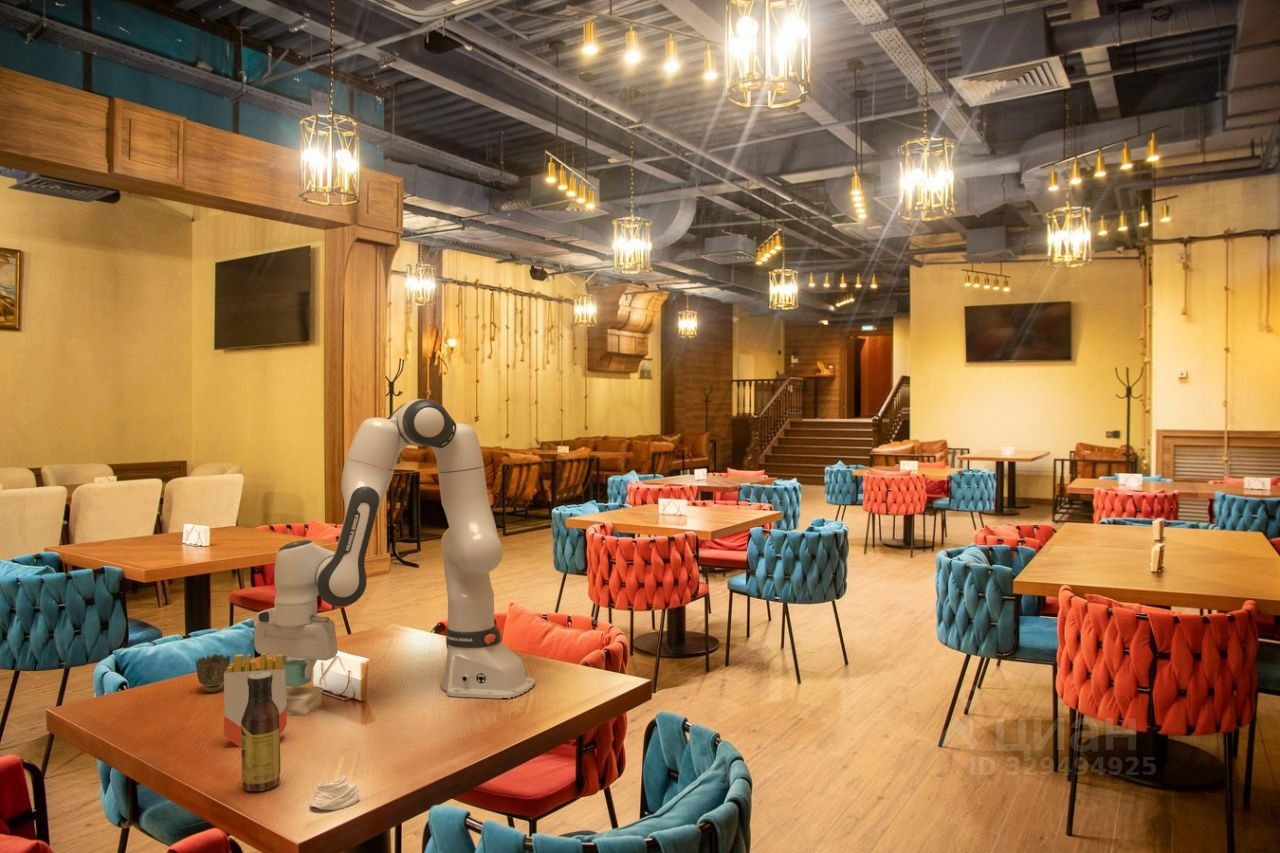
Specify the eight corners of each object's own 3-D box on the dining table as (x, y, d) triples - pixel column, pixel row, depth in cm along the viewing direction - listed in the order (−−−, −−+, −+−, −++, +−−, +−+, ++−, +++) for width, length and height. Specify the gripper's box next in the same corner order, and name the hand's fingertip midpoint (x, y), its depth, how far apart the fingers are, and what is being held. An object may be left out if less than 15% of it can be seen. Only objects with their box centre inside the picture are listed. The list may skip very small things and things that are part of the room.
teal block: (311, 681, 192) (311, 661, 192) (296, 687, 188) (296, 667, 188) (294, 679, 193) (294, 659, 193) (280, 685, 189) (280, 665, 189)
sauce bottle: (249, 779, 153) (249, 668, 153) (285, 778, 154) (285, 667, 154) (235, 795, 147) (235, 679, 146) (273, 793, 147) (272, 678, 147)
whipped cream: (321, 823, 139) (320, 795, 138) (300, 807, 143) (299, 779, 142) (365, 803, 145) (364, 776, 144) (344, 788, 149) (344, 762, 148)
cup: (188, 694, 202) (188, 660, 202) (214, 685, 209) (214, 652, 209) (211, 697, 199) (211, 663, 199) (237, 688, 206) (237, 655, 206)
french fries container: (229, 740, 172) (229, 650, 172) (287, 735, 175) (286, 647, 175) (224, 748, 168) (223, 656, 168) (283, 743, 170) (283, 653, 170)
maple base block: (321, 704, 195) (321, 687, 195) (306, 716, 187) (306, 698, 187) (286, 704, 195) (286, 687, 195) (270, 716, 187) (270, 698, 187)
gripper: (343, 614, 190) (343, 676, 190) (270, 608, 197) (270, 668, 197) (324, 620, 184) (324, 684, 184) (249, 613, 191) (249, 675, 191)
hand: (295, 676), depth 191 cm, fingers closed on teal block, 4 cm apart
